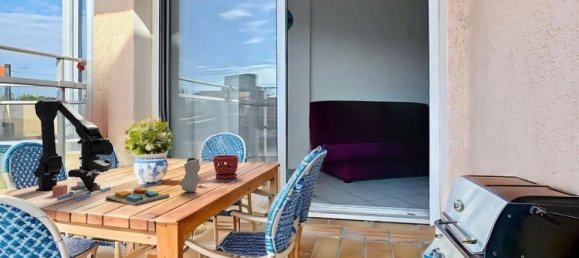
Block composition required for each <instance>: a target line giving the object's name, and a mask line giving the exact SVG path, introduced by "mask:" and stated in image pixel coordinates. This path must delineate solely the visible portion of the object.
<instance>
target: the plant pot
mask: <svg viewBox="0 0 579 258" xmlns="http://www.w3.org/2000/svg"><path fill="white" fill-rule="evenodd" d="M213 167H214V170H215V171H214V172H215V174H214V175H215V177H216V178H217V179H218V178H221V180H228V179H227V178H233V179H235V178H236V177H237V176H238V173H236V172H237V171H238V167H239V156H238V155H235V154H234V155H233V154H226V155H225V154H224V155H221V154H220V155H215V156H213ZM234 177H235V178H234Z"/></svg>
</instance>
